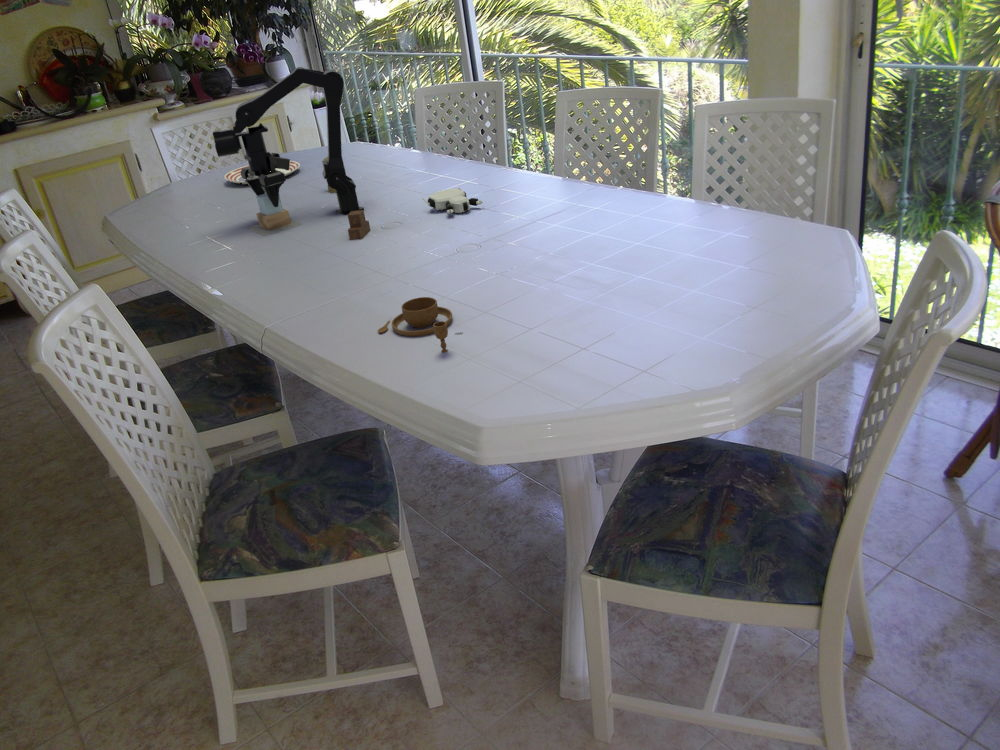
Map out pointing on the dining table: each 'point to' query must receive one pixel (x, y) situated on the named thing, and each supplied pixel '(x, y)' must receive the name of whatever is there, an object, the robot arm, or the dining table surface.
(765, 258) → the dining table surface
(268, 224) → the tan square block
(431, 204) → the robot toy
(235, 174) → the dinner plate
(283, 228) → the mat
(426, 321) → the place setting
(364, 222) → the stack of crates
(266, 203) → the slate block
